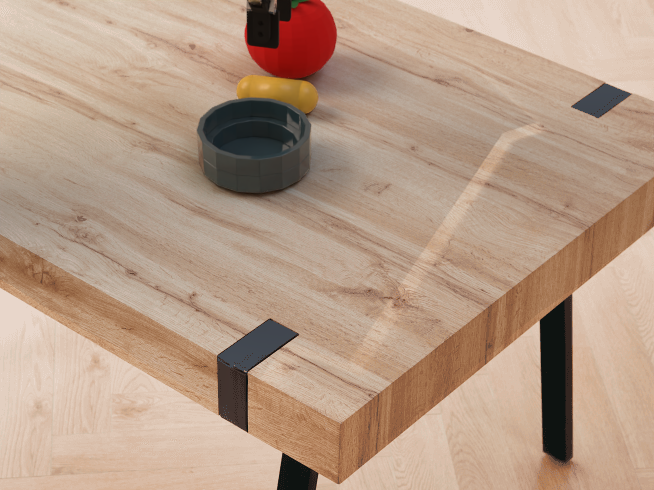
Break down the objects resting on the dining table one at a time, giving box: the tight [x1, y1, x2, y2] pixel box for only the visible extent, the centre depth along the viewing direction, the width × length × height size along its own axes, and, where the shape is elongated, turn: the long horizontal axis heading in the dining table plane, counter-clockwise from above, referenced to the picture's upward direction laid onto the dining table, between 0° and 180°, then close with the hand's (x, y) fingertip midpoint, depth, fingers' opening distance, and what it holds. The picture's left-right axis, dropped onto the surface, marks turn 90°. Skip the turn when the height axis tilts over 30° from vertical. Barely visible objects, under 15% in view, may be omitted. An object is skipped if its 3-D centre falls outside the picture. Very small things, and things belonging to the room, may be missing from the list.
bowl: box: [196, 97, 312, 194], centre depth 109 cm, size 11×11×4 cm
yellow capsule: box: [235, 74, 319, 115], centre depth 117 cm, size 9×4×4 cm
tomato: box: [243, 0, 338, 80], centre depth 121 cm, size 10×10×10 cm
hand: (269, 30), depth 110 cm, fingers open, 5 cm apart
